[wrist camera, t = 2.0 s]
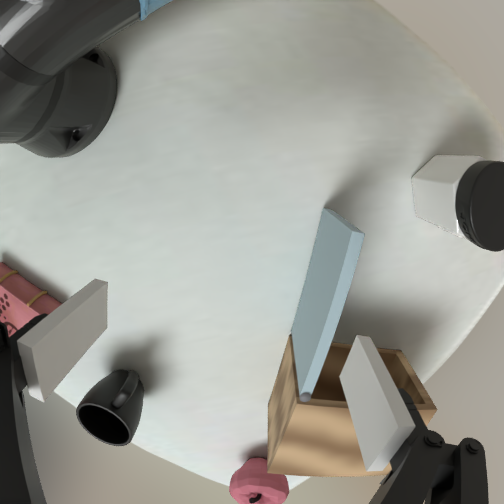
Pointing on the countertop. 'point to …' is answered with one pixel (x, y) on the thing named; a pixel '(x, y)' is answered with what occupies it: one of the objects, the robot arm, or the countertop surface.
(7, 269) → the book
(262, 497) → the apple
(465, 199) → the jar
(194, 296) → the countertop surface
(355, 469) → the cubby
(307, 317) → the door
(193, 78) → the countertop surface
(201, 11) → the countertop surface
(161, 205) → the countertop surface
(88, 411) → the mug
